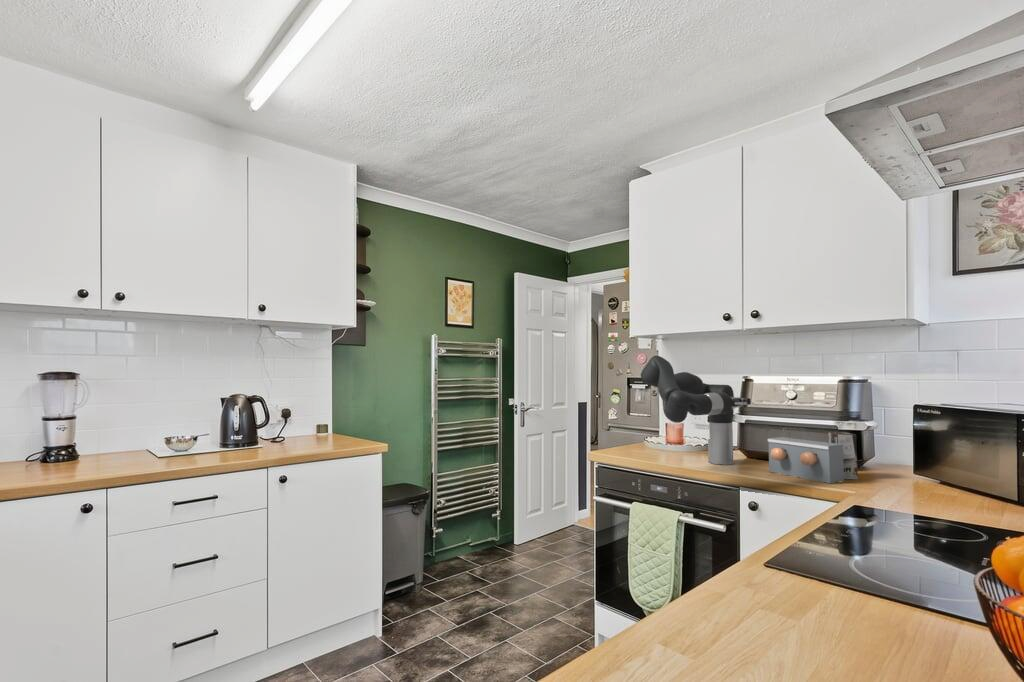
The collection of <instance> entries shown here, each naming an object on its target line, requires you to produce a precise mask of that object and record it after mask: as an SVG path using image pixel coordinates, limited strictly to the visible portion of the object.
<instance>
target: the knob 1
mask: <svg viewBox="0 0 1024 682" xmlns="http://www.w3.org/2000/svg"><path fill="white" fill-rule="evenodd" d="M770 454H771V457H772V458H773V459H774V460H783V459H785V458H786V456H787V453H786V450H784V449H783V448H774V449H772V450H771V453H770Z"/></svg>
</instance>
